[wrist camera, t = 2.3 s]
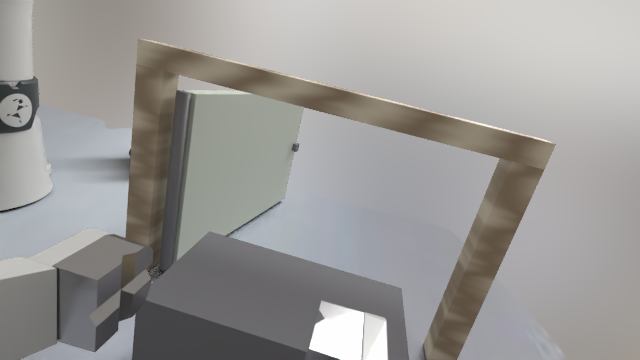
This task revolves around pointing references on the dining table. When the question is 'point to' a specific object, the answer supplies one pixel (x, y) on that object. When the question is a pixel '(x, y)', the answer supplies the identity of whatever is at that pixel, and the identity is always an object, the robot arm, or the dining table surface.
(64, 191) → the dining table surface
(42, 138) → the robot arm
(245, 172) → the door
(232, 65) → the door frame
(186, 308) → the block
